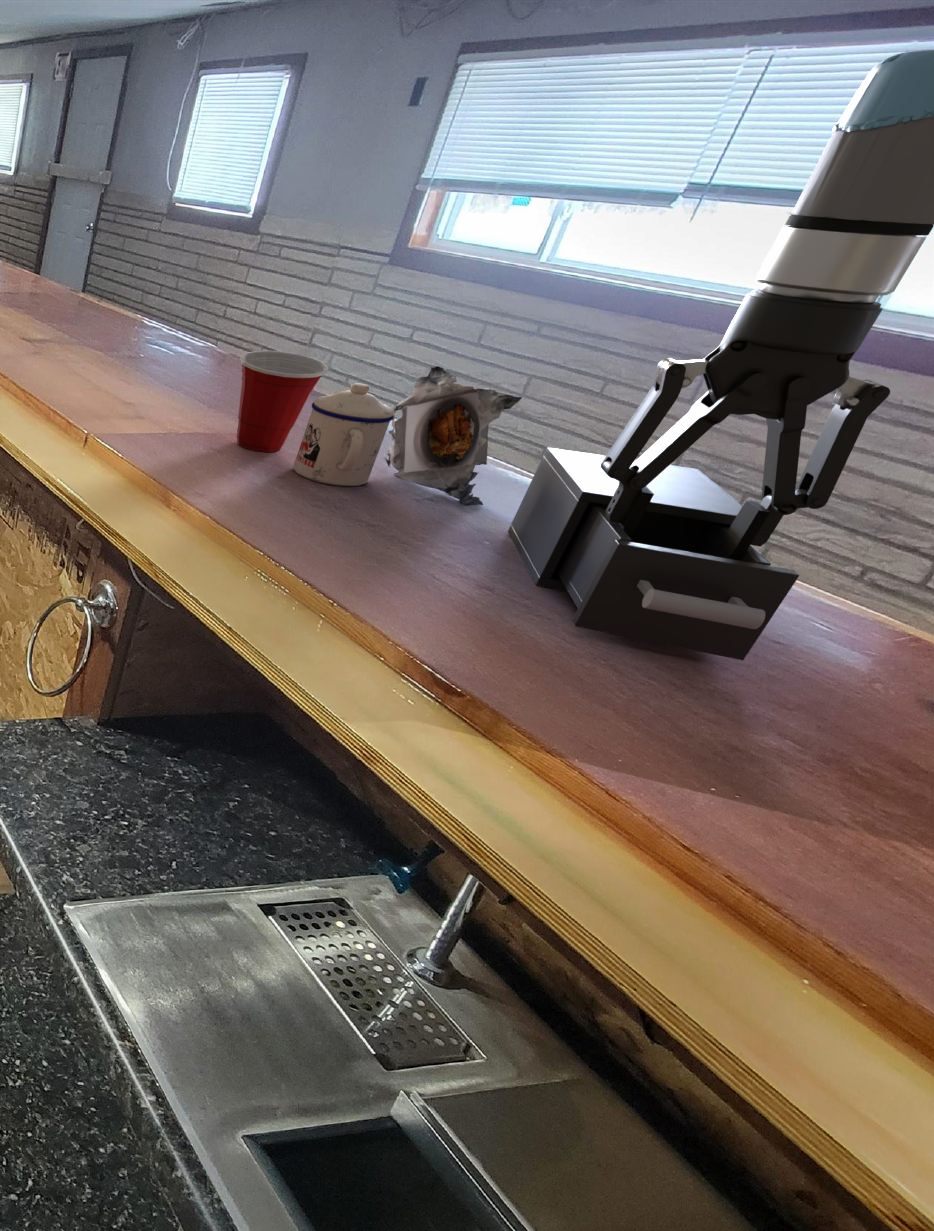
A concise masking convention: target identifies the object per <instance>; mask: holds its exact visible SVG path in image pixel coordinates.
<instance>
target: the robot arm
mask: <svg viewBox="0 0 934 1231" xmlns="http://www.w3.org/2000/svg"><path fill="white" fill-rule="evenodd" d="M852 96H853V97H852V98H851V100H850V102H849V103H848V105H847V106H846V108H845V110H844V111H843V113H842V115H841V117H840V118H839V120H838V121H837V122H836V123H835V124H834V125H833V128H832V130H831V132H832V134H831V136H830V138H829V140H828V142H827V144H826V146H825V148H824V150H823V151H822V154H821V156H820V158H819V160H818V161H817V163H816V165H815V167H814V169H813V171H812V173H811V175H810V177H809V178H808V180H807V183H806V184H805V186H804V188H803V190H802V192H801V194H800V196H799V198H798V200H797V202H796V204H795V205H794V207H793V209H792V211H791V213H790V215H788V218H787V220H786V222H785V223H784V225H783V227H782V228H781V230H780V232H779V234H778V236H777V237H776V240H775V242H774V244H773V245H772V248H771V249H770V251H769V252H768V254H767V257H766V258H765V259H764V262H763V263H762V266H761V268H760V270H759V271H758V273H757V276H756V277H755V279H756V280H757V282H758V283H761V284H762V285H761V288H758V289H757V288H756V289H755V288H754V289H753V290H751V292H748V293H746V294H745V296H744V298H743V300H742V302H741V304H740V305H739V307H738V309H737V311H736V314H734V317H733V319H732V320H731V322H730V324H729V326H728V328H727V330H726V331H725V334H724V336H723V338H722V340H721V342H720V344H719V345H718V346H717V347H716V348H715V349H713V351H712V352H710V353H708V355H706V356H705V357H704V358H702V359H701V358H699V359H688V360H676V359H674V358H672V357H667V358H663V359H661V360H660V361H659V362H658V363H657V365H656V368H655V373H654V378H653V383H652V386H651V388H650V390H649V391H648V392H647V394H646V396H644V398H643V400H642V402H640V404H639V406H638V407H637V409H636V410H635V412H634V413H633V414H632V416H631V418H630V419H629V421H628V422H627V424H626V425H625V426H624V428H623V430H622V431H621V432H620V434H619V436H618V437H617V439H616V440H615V442H614V443H613V445H612V446H611V447H610V449H609V451H608V452H607V453H606V455H604V456H605V458H604V459H603V461H602V462H601V468H602V470H603V471H604V472H605V473H606V474H607V475H608V476H609V477H610V478H612V479H615V480H617V481H619V486H618V488H617V490H616V492H615V494H614V496H613V498H612V499H611V501H610V503H609V505H608V507H607V509H606V518H607V519H608V520H609V521H610V522H615V523H618V524H619V526H620V527H621V528H622V529H623V530H624V532H625V533H626V534H627V535H628V536H629V538H631V536H632V534H633V532H634V530H635V528H636V526H637V525H638V523H639V521H640V519H641V517H642V515H643V514H644V512H645V510H646V508H647V506H648V504H649V503H650V501H651V499H652V497H653V495H654V493H653V492H652V491H651V490H650V489H649V488H648V487H647V485H648V484H649V483H650V482H651V481H652V480H653V479H655V478H656V477H657V476H658V475H659V474H660V473H661V472H662V471H664V470H665V469H666V468H667V467H668V466H669V465H672V464H673V463H674V462H675V461H676V460H678V458H679V457H681V455H683V454H684V453H685V452H686V451H687V450H689V448H691V446H693V445H694V444H695V443H696V442H697V441H698V440H699V439H700V438H701V437H703V436H704V435H705V434H706V433H707V432H708V431H709V430H711V429H712V428H713V427H715V426H716V425H718V424H720V423H722V422H723V421H724V420H725V419H727V418H728V417H729V416H730V415H736V416H737V415H738V416H745V415H756V416H758V417H761V418H764V419H765V422H766V425H767V433H766V443H765V454H764V464H763V475H762V487H761V497H760V498H761V501H760V502H758V501H754V500H748V499H746V500H745V502H744V503H743V504H742V505H743V506H742V508H741V510H740V511H739V513H738V515H737V516H736V518H735V520H734V521H733V523H732V525H731V526H730V528H729V530H728V531H727V533H726V535H725V536H724V538H723V540H722V541H721V543H720V545H719V546H718V548H717V550H716V551H715V553H714V555H713V556H715V557H721V558H727V559H733V560H739V561H740V560H741V559H742V557H743V555H744V554H745V552H746V551H747V549H748V548H749V546H754V547H762V546H763V545H765V544H766V543H767V542H768V541H769V540H770V538H771V536H772V534H773V533H774V531H775V530H776V528H777V527H778V525H779V523H780V522H781V520H782V518H783V517H784V516H788V515H792V514H794V513H795V512H796V511H798V509H808V508H809V509H812V510H818V509H822V508H824V507H825V506H826V505H827V504H828V502H829V500H830V498H831V495H832V493H833V491H834V489H835V487H836V485H837V483H838V481H839V479H840V477H841V474H842V472H843V470H844V468H845V466H846V464H847V462H848V460H849V458H850V455H851V453H852V452H853V448H854V447H855V445H856V443H857V441H858V438H859V436H860V434H861V432H862V430H863V428H864V426H865V424H866V421H867V420H868V418H869V417H870V415H872V413H873V412H874V411H876V410H877V409H878V408H879V406H880V405H881V404H883V403H884V401H885V400H886V399H888V397H889V396H890V395H891V390H890V388H889V387H887V386H886V385H883V384H880V383H878V382H876V381H874V380H872V379H859V378H856V377H853V376H850V362H851V359H852V358H853V356H854V355H855V354H856V353H857V352H858V351H859V349H860V347H861V346H862V345H863V342H864V340H865V339H866V337H867V335H868V334H869V332H870V331H871V329H872V328H873V326H874V325H875V323H876V321H877V320H878V318H879V316H880V315H881V313H882V311H883V310H884V309H883V307H881V306H882V303H881V302H878V301H877V300H878V298H879V297H881V296H888V295H890V294H892V293H894V292H895V291H896V289H897V288H898V286H899V284H900V282H901V281H902V280H903V278H904V276H905V274H906V273H907V271H908V269H909V267H910V266H911V264H912V262H913V260H914V259H915V257H916V256H917V254H918V253H919V251H920V250H921V247H922V245H923V244H924V243H925V241H926V239H927V236H929V235H930V233H931V232H932V230H933V228H934V49H927V50H914V51H906V52H900V53H895V54H894V55H891V56H889V57H887V58H885V59H883V60H882V61H880V62H878V63H877V64H876V65H874V67H873V68H872V69H871V70H870V71H869V72H868V74H867V75H866V77H865V78H864V80H863V81H862V83H861V85H860V86H859V87H858V88H857V90H856V91H855V93H854V94H853V95H852ZM700 375H702V376H703V379H704V382H705V384H706V388H707V391H706V392H705V393H704V394H703V395H702V396H700V398H698V400H696V401H695V402H694V403H693V404H692V405H691V407H690V409H689V411H687V413H685V414H684V415H683V416H682V417H681V418H680V419H679V420H678V421H677V422H676V423H674V424H673V426H671V428H670V429H668V430H667V431H666V432H664V434H663V435H662V436H660V438H658V440H656V441H655V442H654V443H653V444H652V445H651V446H650V447H649V448H648V449H647V450H646V451H644V452H643V454H641V455H640V453H641V452H642V450H643V449H644V447H645V446H646V444H647V443H648V442H649V440H650V439H651V437H652V436H653V434H654V433H655V432H656V430H657V429H658V427H659V426H660V424H661V423H662V421H663V420H664V418H665V417H666V416H667V414H668V413H669V412H670V410H671V408H672V407H673V406H674V405H675V403H676V401H677V399H678V398H679V396H680V393H681V392H682V389H685V388H688V387H689V386H691V385H692V383H693V382H694V381H695V379H696V378H697V377H698V376H700ZM834 391H835V394H834V396H833V399H832V402H833V403H834V404H835V405H834V406H833V407H832V409H831V410H830V412H829V415H828V416H827V418H826V421H825V423H824V426H823V428H822V429H821V432H820V434H819V437H818V439H817V441H816V443H815V445H814V447H813V449H812V452H811V453H810V456H809V458H808V461H807V462H806V465H805V468H804V470H803V472H802V474H801V476H800V479H799V480H798V483H797V479H798V469H799V459H800V450H801V439H802V432H803V430H804V429H805V427H806V419H807V410H808V406H810V405H811V404H813V403H815V402H816V401H818V400H820V399H821V398H824V397H825V396H827V395H829V394H830V393H832V392H834ZM639 455H640V456H639ZM638 456H639V457H638ZM634 460H636V461H635V462H634ZM633 462H634V463H633ZM632 463H633V464H632Z"/></svg>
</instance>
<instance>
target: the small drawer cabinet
mask: <svg viewBox="0 0 934 1231" xmlns="http://www.w3.org/2000/svg"><path fill="white" fill-rule="evenodd" d="M605 456H606V455H603V454H596V453H589V452H581V451H576V450H570V449H569V450H568V449H562V448H555V447H549V446H547V447H546V449H545V451H544V453H543V456H542V457H541V460H540V462H539V464H538V466H537V468H536V471H535V473H534V475H533V477H532V479H531V481H530V482H529V486H528V487H527V489H526V491H525V494H524V496H523V498H522V500H521V502H520V505H519V506H518V509H517V511H516V513H515V514H514V517H513V519H512V522H511V524H510V526H509V527H508V530H507V534H508V536H509V537H510V539H511V541H512V544H514V547H515V549H516V550H517V552H518V554H519V556H520V558H521V560H522V562H523V564H524V566H525V567H526V569H527V572H528V573H529V575H530V577H531V578H532V580H533V583H534V584H535V586H537V587H543V588H547V589H553V590H558V591H563V592H568V591H567V589H566V587H565V586H564V584H563V582H562V581H561V579H560V577H559V576H558V574H557V572H556V571H555V570H556V568H557V566H558V564H559V562H560V560H561V558H562V556H563V554H564V552H565V550H566V548H567V546H568V544H569V542H570V540H571V538H572V536H573V534H574V532H575V530H576V528H577V526H578V524H579V523H580V521H581V519H582V517H583V515H584V513H585V511H586V509H587V507H588V505H589V502H591V503H597V504H604V505H609V503H610V501H611V499H612V498H613V496H614V494H615V492H616V490H617V488H618V486H619V481H617V480H615V479H612V478H610V477H609V476H608V475H607V474H606V473H605V472H604V471H603V470H602V468H601V462H602V461H603V459H604V458H605ZM636 460H637V459H635V460H634V462H635V461H636ZM634 462H633V463H634ZM633 463H632V464H633ZM647 487H648V488H649V489H650V490H651V491H652V492H653V493H654V495H653V497H652V499H651V501H650V503H649V504H648V506H647V508H646V510H645V511H647V512H653V513H660V514H666V515H672V516H678V517H684V518H691V519H697V520H703V521H709V522H715V523H722V524H727V525H728V526H729V527H730V526H731V525H732V523H733V521H734V520H735V518H736V516H737V515H738V513H739V511H740V510H741V508H742V506H743V505H744V504H742V503H740V502H739V501H738V500H736V499H735V498H734V497H733V496H731V495H730V494H729V493H728V492H727V491H725V490H724V489H723V488H722V487H721V486H719V485H718V484H717V483H716V482H715V481H713V480H712V479H711V478H709V476H708V475H706V474H705V473H703V472H702V471H701V470H700V469H698V468H694V467H686V466H679V465H672V464H670V465H669V466H668V467H667V468H666V469H665V470H664V471H662V472H661V473H660V474H659V475H658V476H657V477H656V478H655V479H653V480H652V481H651V482H650V483H649V484H648V485H647Z"/></svg>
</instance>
